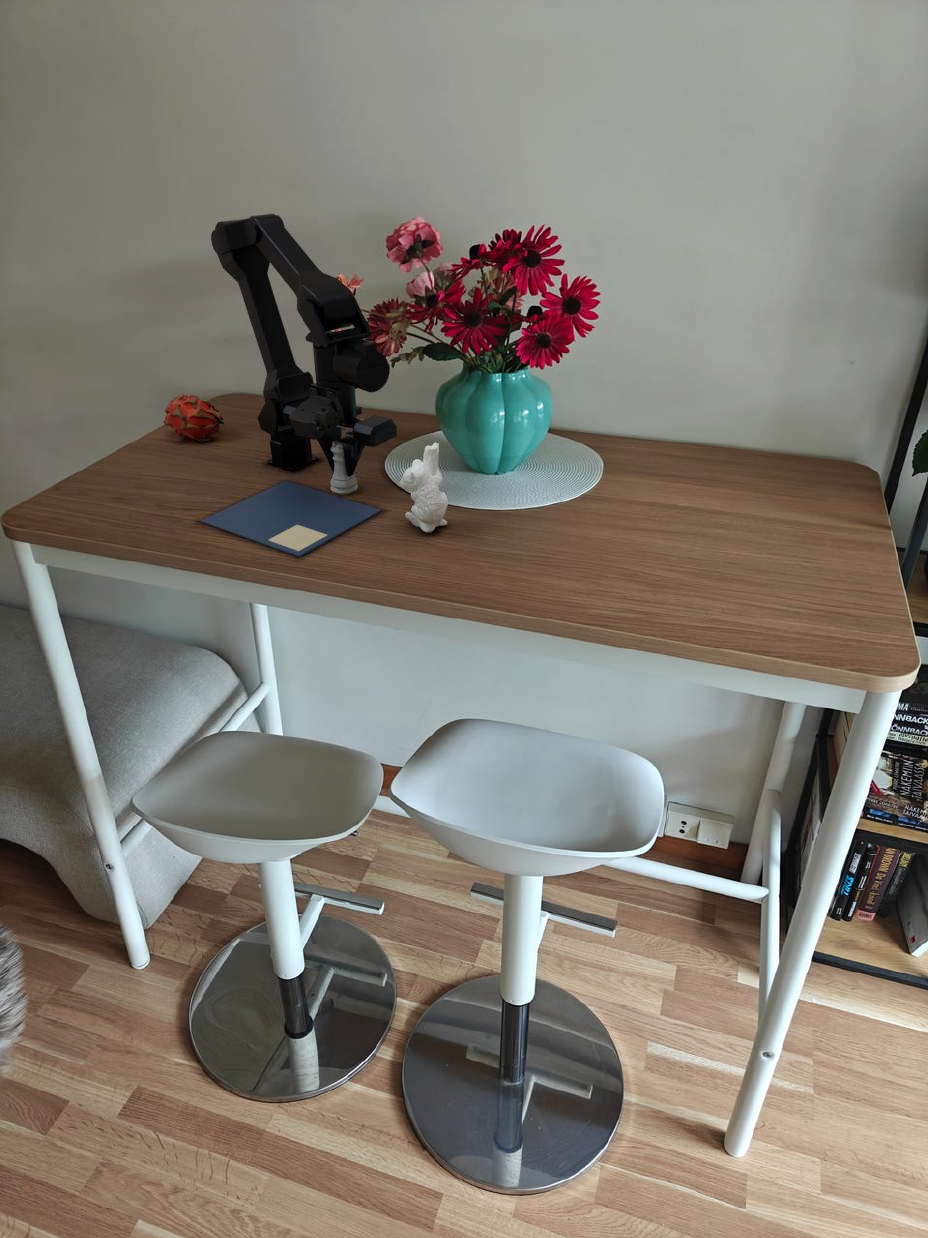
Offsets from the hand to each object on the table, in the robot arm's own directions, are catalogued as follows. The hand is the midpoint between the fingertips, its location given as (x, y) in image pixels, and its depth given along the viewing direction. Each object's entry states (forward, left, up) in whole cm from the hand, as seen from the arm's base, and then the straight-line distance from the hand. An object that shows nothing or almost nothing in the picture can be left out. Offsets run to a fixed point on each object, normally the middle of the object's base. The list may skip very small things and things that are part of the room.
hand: (342, 473), depth 140 cm
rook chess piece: (0, 0, -3) cm, 3 cm away
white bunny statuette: (+3, +19, -3) cm, 19 cm away
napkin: (+12, 0, -3) cm, 12 cm away
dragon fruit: (-3, -38, -3) cm, 38 cm away
